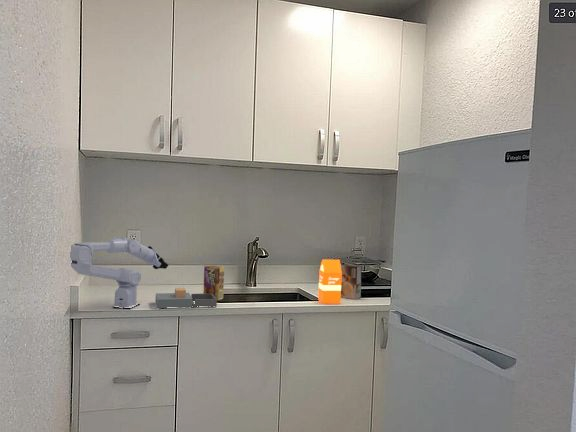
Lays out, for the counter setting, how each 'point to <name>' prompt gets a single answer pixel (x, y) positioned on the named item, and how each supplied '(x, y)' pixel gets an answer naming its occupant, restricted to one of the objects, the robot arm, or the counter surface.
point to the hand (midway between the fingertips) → (162, 262)
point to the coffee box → (351, 281)
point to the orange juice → (330, 281)
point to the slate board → (172, 300)
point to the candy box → (214, 281)
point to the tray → (204, 299)
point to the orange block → (180, 292)
